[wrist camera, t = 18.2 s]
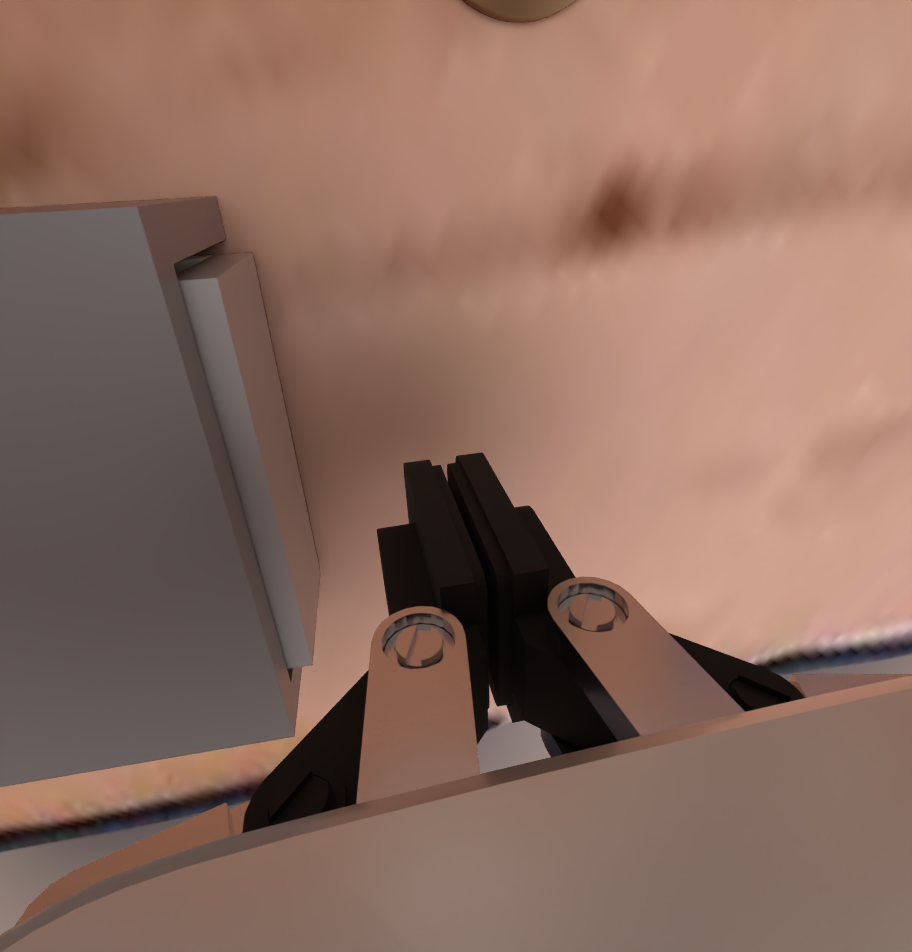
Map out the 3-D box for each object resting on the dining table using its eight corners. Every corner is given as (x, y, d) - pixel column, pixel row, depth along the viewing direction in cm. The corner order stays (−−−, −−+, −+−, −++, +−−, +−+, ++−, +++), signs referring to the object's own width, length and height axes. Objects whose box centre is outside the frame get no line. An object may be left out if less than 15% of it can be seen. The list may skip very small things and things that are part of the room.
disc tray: (-99, 630, 21) (-216, 747, 17) (-346, 292, 15) (-632, 339, 11) (320, 572, 23) (312, 664, 19) (252, 252, 17) (217, 278, 13)
